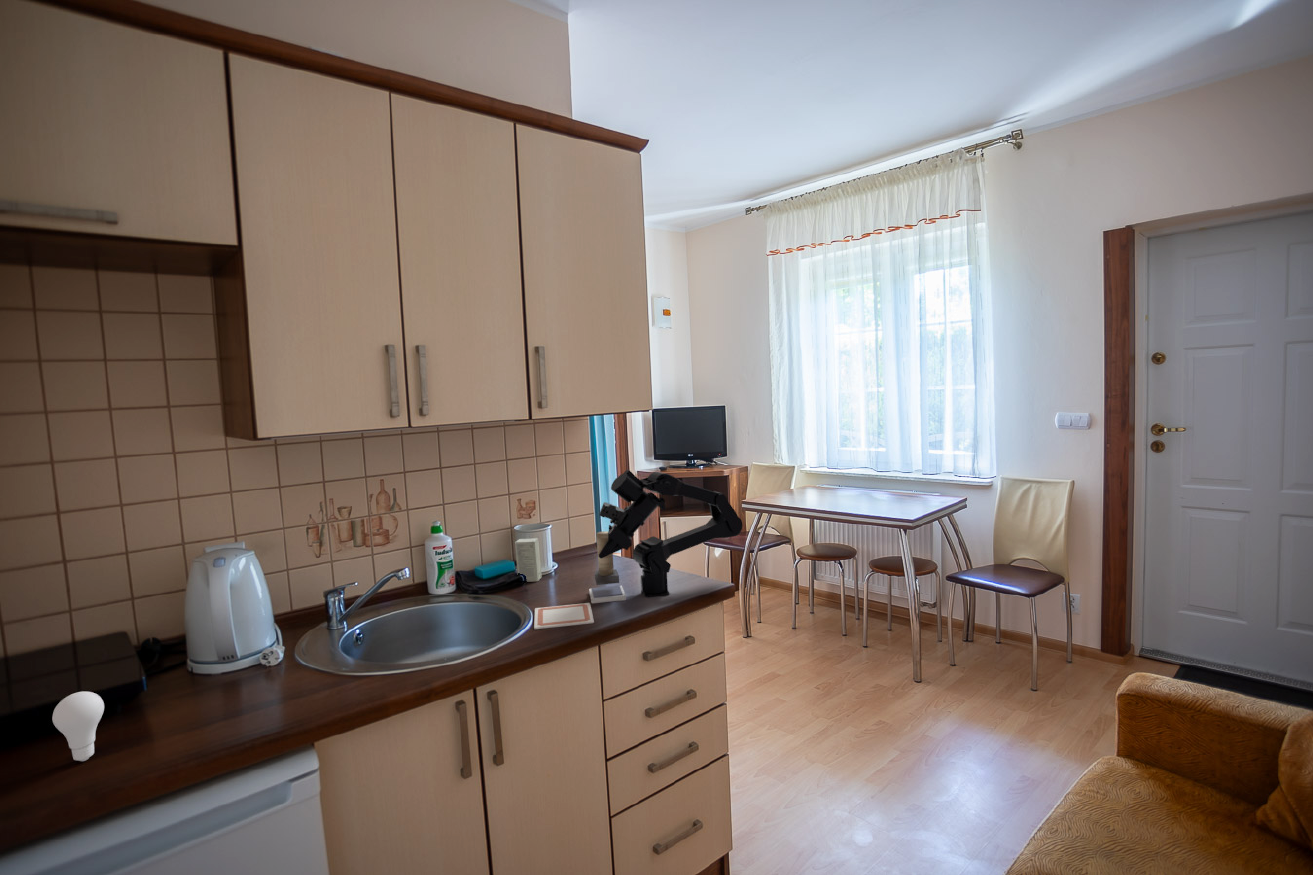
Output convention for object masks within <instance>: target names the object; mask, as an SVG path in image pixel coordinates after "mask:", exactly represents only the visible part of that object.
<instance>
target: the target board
mask: <svg viewBox="0 0 1313 875" xmlns="http://www.w3.org/2000/svg"><path fill="white" fill-rule="evenodd" d="M591 606H592V605H591V602H585V603H575V604H565V605H554V606H545V607H535V608H534V622H533V624H534V625H533V630H540V629H541V630H542V629H552V628H560V627H568V626H569V627H570V626H580V625H587V624H594V623H595V621H594V620H595V619H594V616H593V611H592V607H591Z"/></svg>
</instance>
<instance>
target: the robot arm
mask: <svg viewBox="0 0 1313 875" xmlns="http://www.w3.org/2000/svg"><path fill="white" fill-rule="evenodd" d="M644 489H645V490H648V491H650V492H647V491H645V490H644ZM610 490H611V491H613V492H614V494H617V495H618V496H619V497H620V498H621V499H623V500H624V501H625V502H626V503H631V502H632V503H631V504H630V505H628V506H625V507H624V508H621V507H619V506H617V505H615V504H612V503H608V502H606V501H603V503H602V506H601V509H600V511H599V516H600V517H602V518H605V519H609V521H610V522H609V523H610V524H609V525H608V530H607V531H608V541H607V542H606V544H605V546H604V547H603V549H602V550H601V552H600V554H599V555H598V554H597V557H598V556H599V557H600V558H604V557H606V556H608V555H610V554H612V553H613V554H614V553H617V552H619V551H621V550H626V551H628V550H629V549H630V547H632V545H633V543H632V540H633V539H632V538H633V537H634V535H635V534H636V533H635V532H637V530H638V529H639V528H640V527H643V526H644V524H645V522H646V520H648V518H649V517H650V516H651V515H652V514H653V512H655V510H656V509H657V508H660V509H661V510H662V511H665V510H666V500H665V498H664V497H658V496H657V495H656V494H659V495H661V496H673V497H675V496H676V497H678V496H680V497H684V498H689V499H692V500H696V501H699V502H702V503H706V504H708V505H709V509H710V515H711V518H710V519H709V520H708V521H707V523H706V524H703V525H701V526H697V527H695V528H692V529H690V530H687V531H685V532H682V533H680V534H676V535H674V536H671V537H668V538H665V539H664V540H663V539H661V538H659V537H656V536H650V537H649V538H647V539H643V540H641V539H640V540H639V543H637V544H636V545H635V546H634V549H633V551H632V557H633V558H632V559H633V560H634V561H635V562H636V563H638V565H639V568H640V569H641V570H642V572H641V573H642V574H641V575H640V589H641V593H642V594H644V597H647V598H649V597H656V596H657V597H658V596H666V595H670V591H669V587H668V573H670V571H671V570H670V569H671V567H672V565H671V563H670V562H669V561H667V560H668V559H670V557H672V556H673V555H676V554H678V553H681V552H683V551H686V550H689V549H690V548H693V547H695V546H699V545H700V544H704V543H706V542H708V541H709V542H710V541H712V540H715V539H727V538H732V537H737V536H739V535H740V534H741V533H742V529H743V521H742V519H741V518H740V517H739V516H738V514H737V512H736V510H735V509H734V508H733V506H732V505H731V504H730V503H729V501H728V498H727V496H726V495H725V494H724V493H722V492H719V491H714V490H709V489H706V488H702V487H700V486H697V485H694V484H693V485H692V484H689V483H685V482H684V481H682V480H680V479H679V478H677V477H675V476H674V475H671V474H669V473H665V472H661V471H652V473H650V474H649V475H648V476H647V477H645V478H641V479H639V478H638V477H637V476H636V475H635V474H634V473H633V472H632V470H628V469H625V471H624V472H622V473H621V474H620V475H618V477H616V478H615V479H614V480H613V482H612V483H611V487H610ZM655 493H656V494H655Z"/></svg>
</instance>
